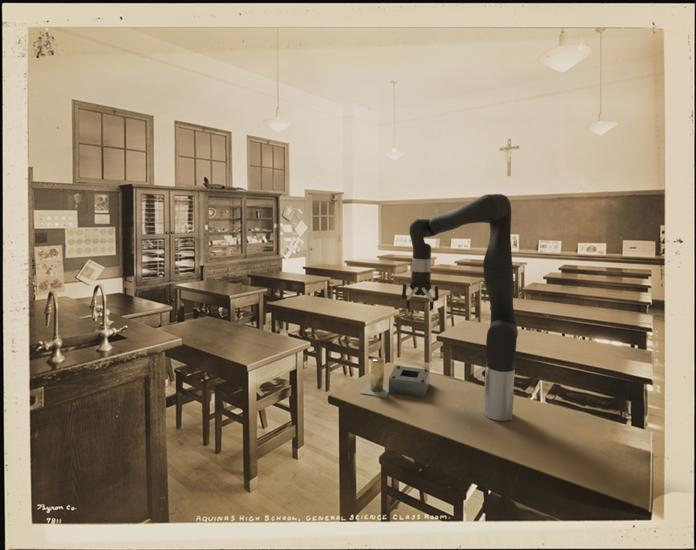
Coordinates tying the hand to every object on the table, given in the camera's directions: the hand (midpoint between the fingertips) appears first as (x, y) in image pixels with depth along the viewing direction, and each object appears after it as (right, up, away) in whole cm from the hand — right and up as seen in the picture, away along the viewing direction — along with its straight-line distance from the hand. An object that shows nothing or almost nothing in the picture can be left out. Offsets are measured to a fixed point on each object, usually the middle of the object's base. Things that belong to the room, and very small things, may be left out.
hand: (419, 309), depth 164 cm
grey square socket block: (-5, -31, -3) cm, 31 cm away
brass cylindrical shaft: (-18, -31, -5) cm, 36 cm away
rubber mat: (-18, -31, -5) cm, 36 cm away
